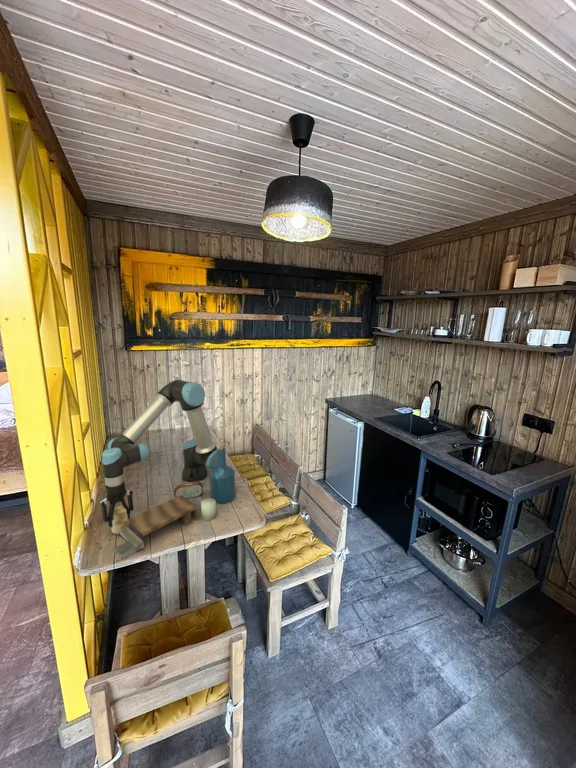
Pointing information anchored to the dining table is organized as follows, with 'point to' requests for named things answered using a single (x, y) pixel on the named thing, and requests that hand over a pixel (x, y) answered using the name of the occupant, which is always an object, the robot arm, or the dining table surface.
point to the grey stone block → (125, 550)
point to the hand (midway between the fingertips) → (120, 528)
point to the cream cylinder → (208, 509)
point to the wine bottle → (222, 480)
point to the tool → (125, 527)
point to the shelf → (165, 515)
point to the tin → (189, 489)
